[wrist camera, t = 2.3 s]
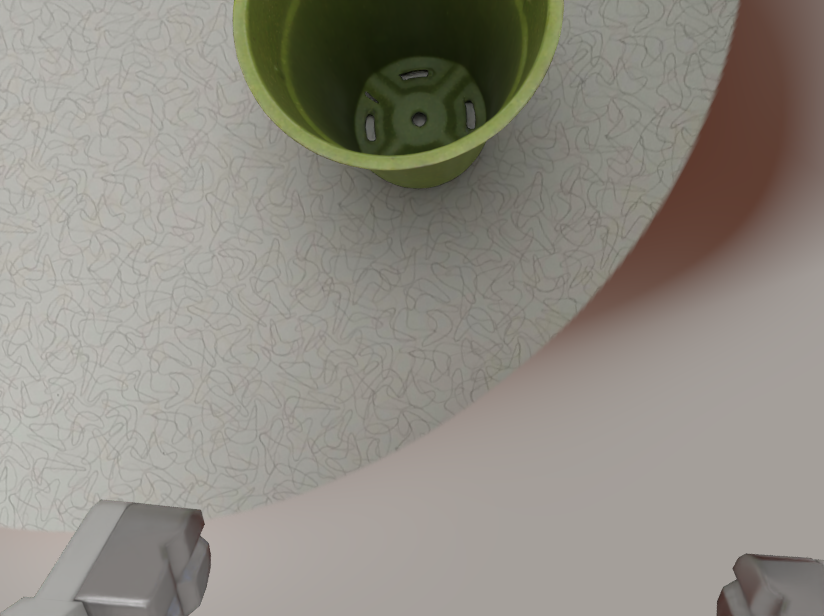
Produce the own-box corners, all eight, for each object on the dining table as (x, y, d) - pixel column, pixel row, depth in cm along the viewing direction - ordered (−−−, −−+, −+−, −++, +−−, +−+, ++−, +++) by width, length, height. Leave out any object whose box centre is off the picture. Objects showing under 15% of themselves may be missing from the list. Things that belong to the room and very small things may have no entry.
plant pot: (448, -26, 34) (441, -216, 22) (574, 151, 32) (632, 42, 21) (267, 96, 34) (170, -31, 23) (384, 276, 33) (343, 234, 21)
